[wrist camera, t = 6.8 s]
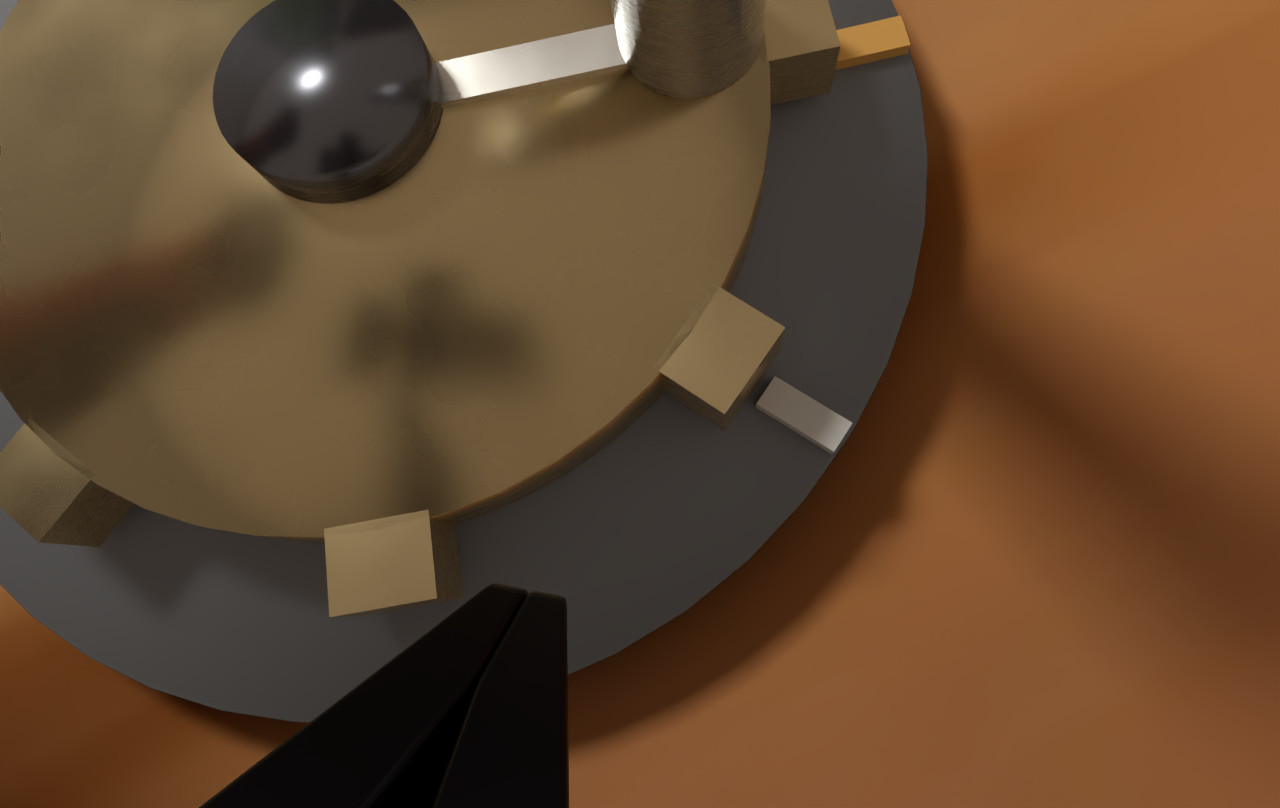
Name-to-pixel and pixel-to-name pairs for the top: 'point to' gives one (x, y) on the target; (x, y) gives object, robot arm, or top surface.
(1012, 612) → the top surface
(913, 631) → the top surface
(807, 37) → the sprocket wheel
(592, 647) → the base plate
